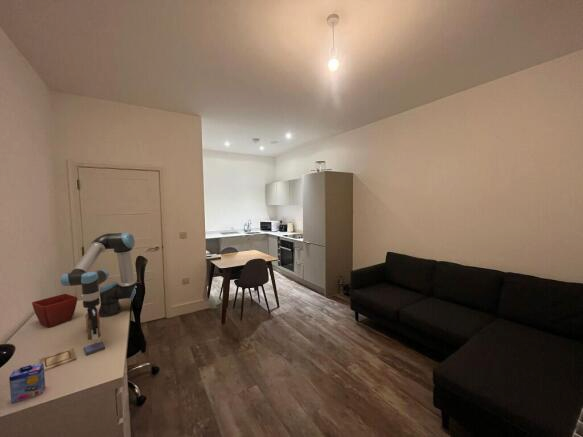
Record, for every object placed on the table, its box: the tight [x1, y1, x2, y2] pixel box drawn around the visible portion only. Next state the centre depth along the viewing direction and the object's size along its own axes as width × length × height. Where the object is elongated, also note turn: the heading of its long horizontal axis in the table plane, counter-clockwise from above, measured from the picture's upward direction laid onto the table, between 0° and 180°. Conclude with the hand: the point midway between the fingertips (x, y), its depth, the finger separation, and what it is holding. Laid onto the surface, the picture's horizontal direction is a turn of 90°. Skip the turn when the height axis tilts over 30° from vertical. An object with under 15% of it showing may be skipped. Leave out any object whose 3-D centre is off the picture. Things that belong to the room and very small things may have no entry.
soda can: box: [85, 309, 101, 333], centre depth 166 cm, size 7×7×13 cm
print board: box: [39, 347, 77, 372], centre depth 135 cm, size 14×14×1 cm
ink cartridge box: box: [8, 363, 46, 404], centre depth 110 cm, size 10×6×14 cm, turn 124°
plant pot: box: [31, 293, 78, 328], centre depth 178 cm, size 19×19×17 cm
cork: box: [87, 319, 102, 341], centre depth 144 cm, size 6×6×11 cm
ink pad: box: [82, 340, 106, 357], centre depth 145 cm, size 9×9×2 cm
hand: (94, 336), depth 145 cm, fingers closed on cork, 6 cm apart
